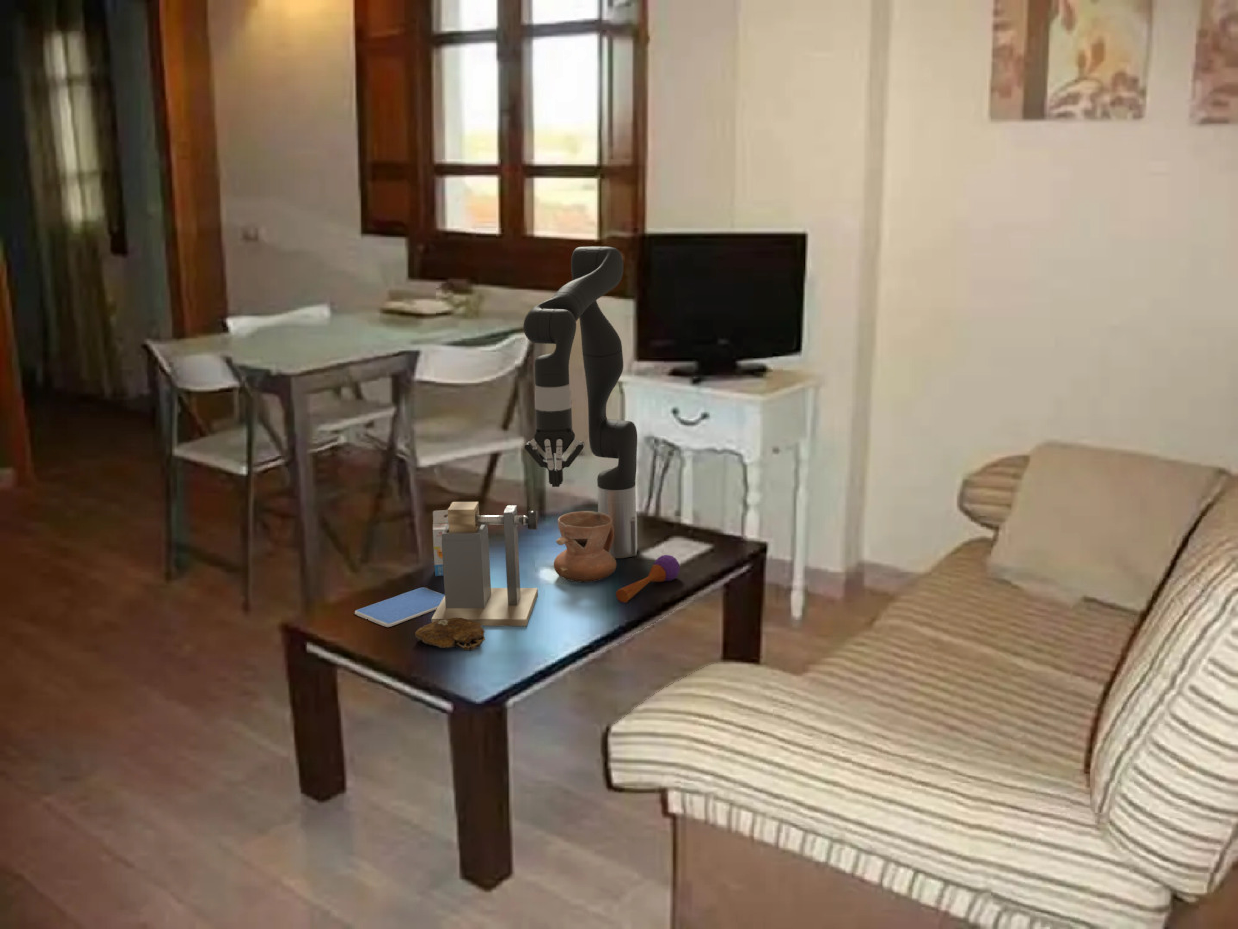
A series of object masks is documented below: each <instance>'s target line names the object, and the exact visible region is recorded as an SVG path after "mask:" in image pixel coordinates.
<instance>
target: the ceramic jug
mask: <svg viewBox="0 0 1238 929" xmlns="http://www.w3.org/2000/svg"><path fill="white" fill-rule="evenodd" d="M611 523H612V519H611V517H610V516H609V515H606V514H604V513H601V512H598V511H594V510H586V511H585V510H582V511H581V510H580V511H572V512H568V513H565V514H563V515H561V516H559V517H558V518H557V524H558V525H557V526H558V529H559V530H558V531H559V533H560V536H561V537H558V538H557V539H556V544H557V545H559V546H563V545H565V547H566V549H564V550H563V551H561V552H559V553H558V555H556V557H555V559H554V561H553V568H554V571H555V572H556V574H557V575H558V576H560V577H561V578H562V579H565V580H568V581H571V582H574V583H575V582H577V583H593V582H598V581H602V580H604V579H606V578H608V577H610V576H611V575H612V574H614V572H615V571H616V570H617V569H616V568H617V565H618V564H617V560H616V558H614V557H613V556H612V555H611V554H610V553H609V551H610V548H611V545H612V542H613V536H614V530H613V527H612V526H611Z"/></svg>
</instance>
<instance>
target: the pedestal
mask: <svg viewBox="0 0 1238 929" xmlns="http://www.w3.org/2000/svg"><path fill="white" fill-rule="evenodd" d="M488 528H489V527H488V525H480V528H479V530H478V532H477V533H449V525H447V526H446V528H445V529H444V531H443V532H442V557H443V573H444V576H443V584H444V585H443V586H444V595H445V604H446V608H480V609H485V606H486V604H487V602H488V600H489V598H490V596H491V588H492V584H491V580H492V578H491V563H490V562H491V561H490V546H489V544H490V543H489V529H488Z"/></svg>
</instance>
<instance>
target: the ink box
mask: <svg viewBox="0 0 1238 929" xmlns="http://www.w3.org/2000/svg"><path fill="white" fill-rule="evenodd" d="M445 516H446V517H447V516H448V509H445V510H444V509H443V510H433V511H432V520H433V521H432V542H433V558H434V559H433V560H434V573H435V574H434V575H435V577H444V573H443V557H442V532H443V531H444V529H445V528H446V526H447V525H448V524H447V523H446V522H445V518H446V517H445Z"/></svg>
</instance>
